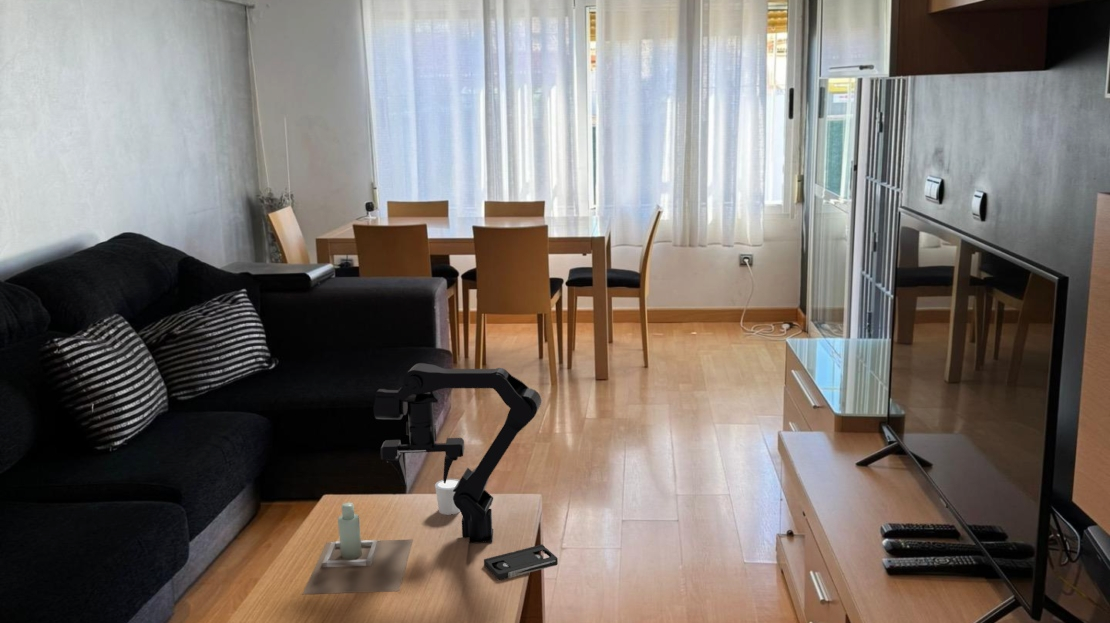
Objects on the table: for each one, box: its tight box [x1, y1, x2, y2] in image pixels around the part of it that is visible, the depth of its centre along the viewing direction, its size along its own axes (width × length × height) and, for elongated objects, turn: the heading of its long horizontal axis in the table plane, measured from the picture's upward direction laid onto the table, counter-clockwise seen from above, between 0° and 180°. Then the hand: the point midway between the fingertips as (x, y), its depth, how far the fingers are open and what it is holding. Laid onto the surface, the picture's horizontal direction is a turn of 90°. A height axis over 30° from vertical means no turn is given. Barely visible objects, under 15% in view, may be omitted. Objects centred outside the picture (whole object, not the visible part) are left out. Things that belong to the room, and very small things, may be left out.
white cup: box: [434, 478, 461, 516], centre depth 245 cm, size 7×7×7 cm
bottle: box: [337, 502, 362, 560], centre depth 219 cm, size 5×5×12 cm
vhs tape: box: [483, 544, 559, 581], centre depth 216 cm, size 14×8×2 cm, turn 117°
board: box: [301, 538, 414, 596], centre depth 216 cm, size 20×24×2 cm
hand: (425, 483), depth 229 cm, fingers open, 9 cm apart
